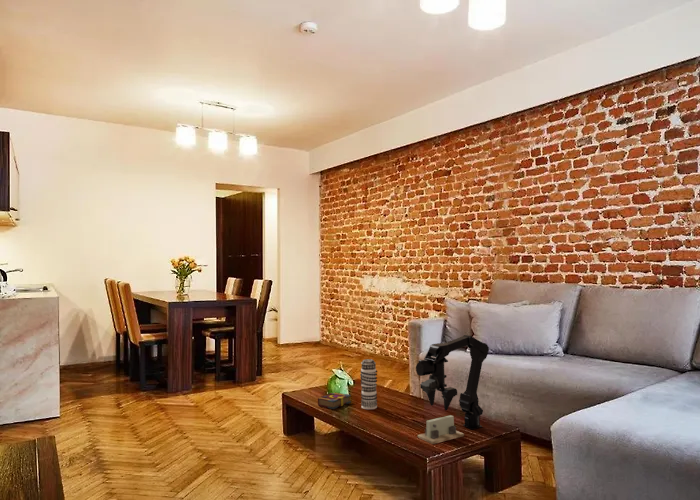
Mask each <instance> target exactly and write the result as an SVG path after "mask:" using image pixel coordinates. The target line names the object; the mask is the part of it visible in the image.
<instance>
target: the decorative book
mask: <svg viewBox="0 0 700 500" xmlns="http://www.w3.org/2000/svg"><path fill="white" fill-rule="evenodd" d="M350 397H351V394H348V393H340V392H329V393H328V394H326V395H321V396H320V397H318V398H317V405H318V406H320V407H324V408H328V409H331V410H335V409H338V408H339V407H343V406H344V405H348V404H350V403H351V402H352V400H350Z"/></svg>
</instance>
